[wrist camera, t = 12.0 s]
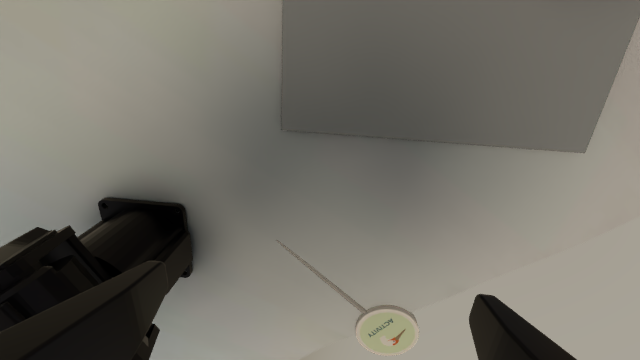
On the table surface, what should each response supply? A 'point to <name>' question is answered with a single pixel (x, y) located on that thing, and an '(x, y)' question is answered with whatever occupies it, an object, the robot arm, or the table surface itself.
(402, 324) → the sign
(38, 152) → the table surface
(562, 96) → the mat
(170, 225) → the robot arm
